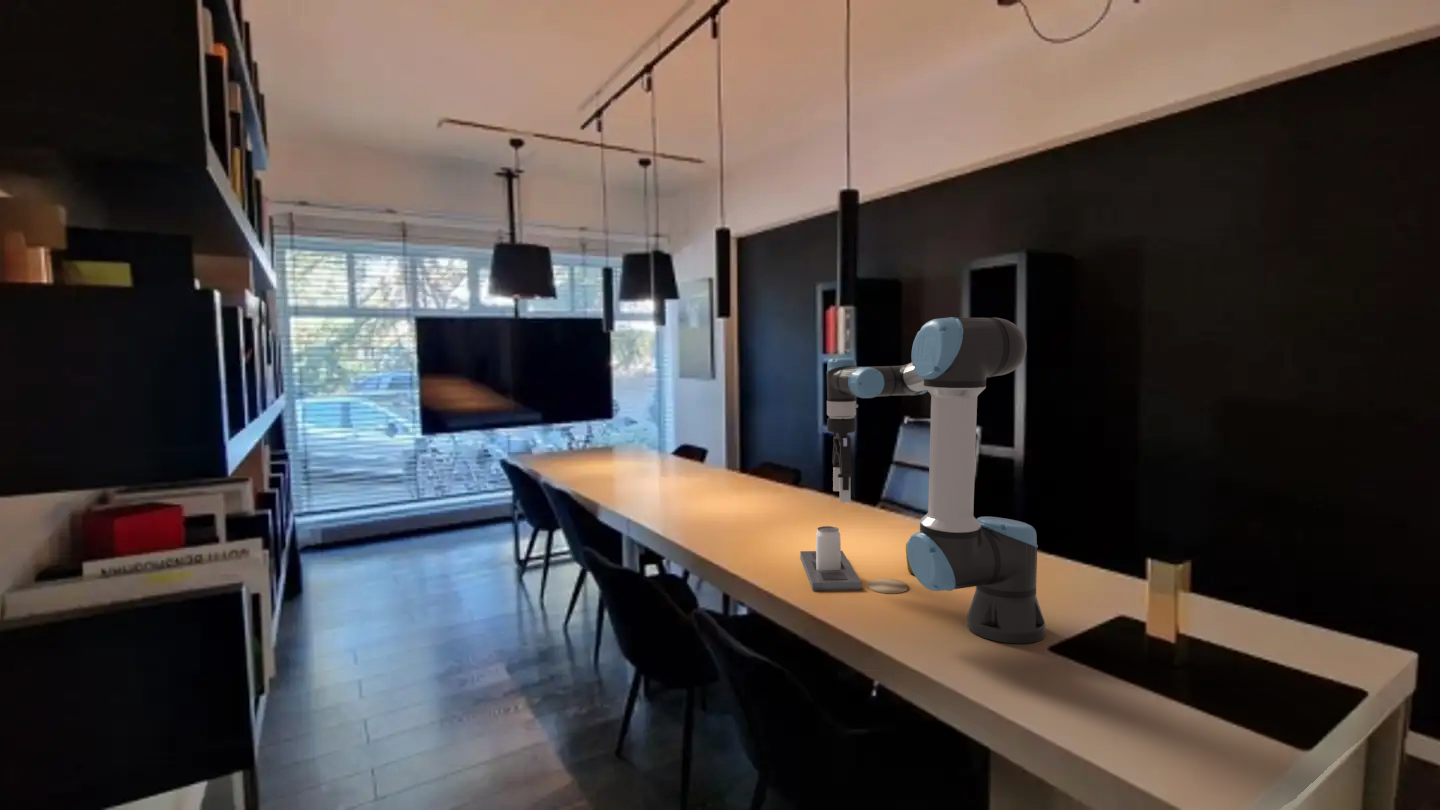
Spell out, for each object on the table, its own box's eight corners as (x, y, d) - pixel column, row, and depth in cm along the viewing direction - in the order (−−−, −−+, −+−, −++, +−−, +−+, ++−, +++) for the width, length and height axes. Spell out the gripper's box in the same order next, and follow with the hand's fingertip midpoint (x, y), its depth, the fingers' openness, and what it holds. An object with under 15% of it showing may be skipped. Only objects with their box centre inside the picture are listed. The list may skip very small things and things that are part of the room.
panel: (861, 590, 171) (861, 581, 170) (812, 590, 171) (812, 582, 171) (842, 557, 198) (842, 550, 198) (800, 558, 199) (800, 550, 198)
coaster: (913, 593, 167) (913, 591, 167) (871, 594, 168) (871, 592, 167) (902, 580, 177) (902, 578, 177) (863, 580, 177) (863, 579, 177)
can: (812, 574, 183) (812, 530, 182) (821, 568, 189) (820, 524, 188) (836, 578, 180) (835, 532, 179) (843, 571, 186) (843, 527, 185)
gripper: (863, 422, 169) (863, 507, 171) (849, 412, 194) (849, 486, 196) (832, 422, 170) (833, 507, 172) (822, 412, 195) (822, 486, 196)
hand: (841, 496), depth 184 cm, fingers open, 13 cm apart
